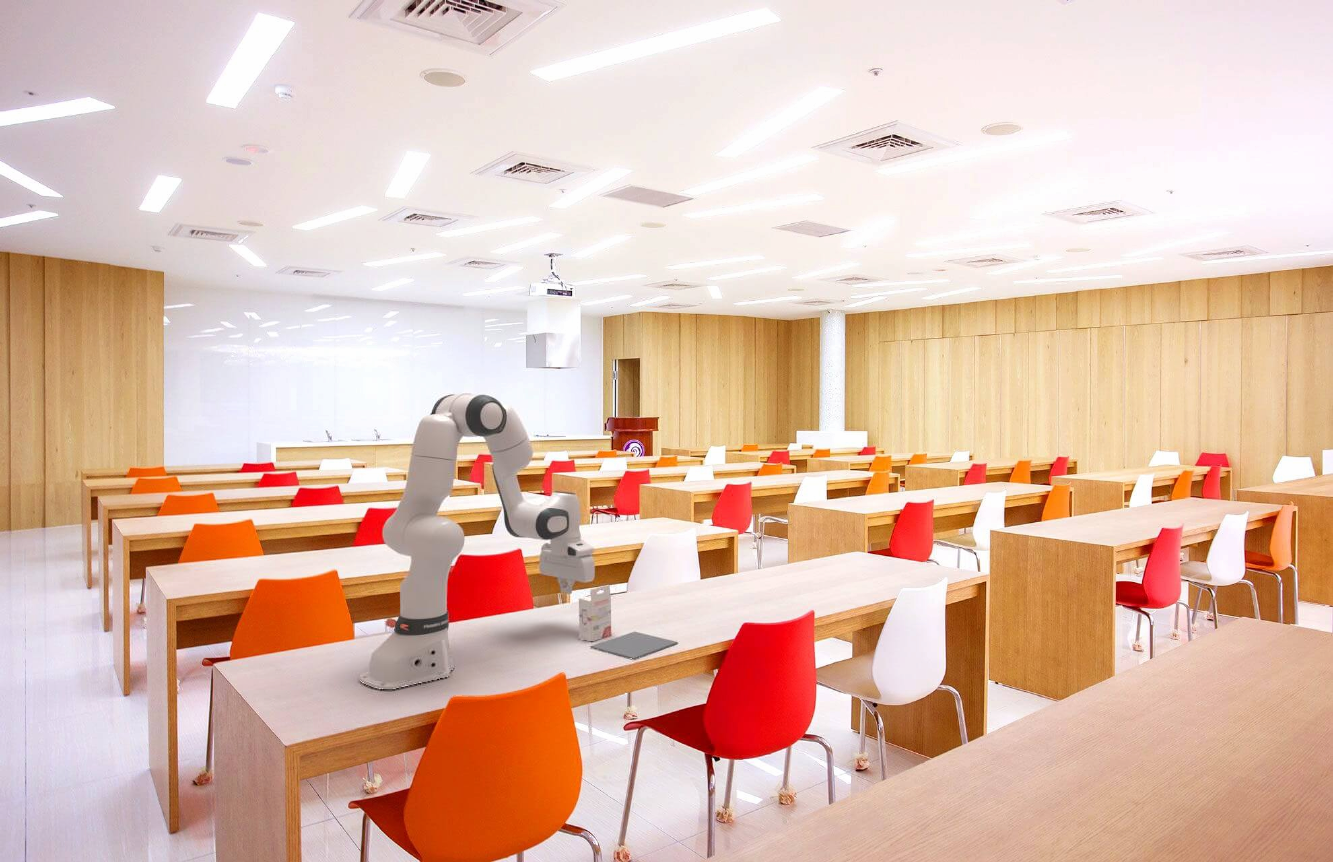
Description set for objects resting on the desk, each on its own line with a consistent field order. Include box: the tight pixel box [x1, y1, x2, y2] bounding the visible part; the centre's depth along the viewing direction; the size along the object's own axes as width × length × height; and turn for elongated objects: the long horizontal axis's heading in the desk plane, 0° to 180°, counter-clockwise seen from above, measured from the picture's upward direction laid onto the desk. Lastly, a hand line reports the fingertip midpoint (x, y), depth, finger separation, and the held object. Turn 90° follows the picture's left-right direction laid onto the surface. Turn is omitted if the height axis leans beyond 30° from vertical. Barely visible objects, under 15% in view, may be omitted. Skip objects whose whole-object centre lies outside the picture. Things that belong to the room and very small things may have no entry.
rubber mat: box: [589, 631, 679, 660], centre depth 222 cm, size 18×16×1 cm
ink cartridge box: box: [578, 584, 612, 642], centre depth 230 cm, size 9×5×15 cm, turn 143°
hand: (566, 593), depth 238 cm, fingers closed
